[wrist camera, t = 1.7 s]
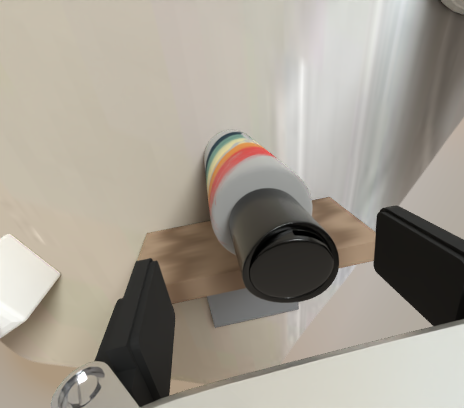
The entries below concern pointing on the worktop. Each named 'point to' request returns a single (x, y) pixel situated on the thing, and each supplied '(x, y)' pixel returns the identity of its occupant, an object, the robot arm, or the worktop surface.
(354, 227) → the brown wooden board
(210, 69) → the worktop surface
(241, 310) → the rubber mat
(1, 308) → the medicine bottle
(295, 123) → the worktop surface
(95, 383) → the robot arm
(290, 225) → the lotion bottle
